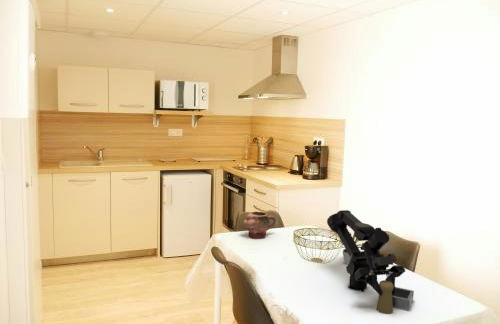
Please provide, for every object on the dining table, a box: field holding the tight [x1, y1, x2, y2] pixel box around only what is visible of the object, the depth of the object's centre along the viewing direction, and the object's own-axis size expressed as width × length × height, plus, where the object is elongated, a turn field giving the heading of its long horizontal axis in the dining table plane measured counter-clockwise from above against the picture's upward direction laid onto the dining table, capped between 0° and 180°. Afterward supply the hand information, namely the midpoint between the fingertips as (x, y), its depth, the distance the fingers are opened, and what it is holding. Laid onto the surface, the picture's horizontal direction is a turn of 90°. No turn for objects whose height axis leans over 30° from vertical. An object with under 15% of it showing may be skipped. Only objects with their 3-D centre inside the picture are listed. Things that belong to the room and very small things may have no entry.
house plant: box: [339, 232, 362, 266], centre depth 200 cm, size 14×14×16 cm
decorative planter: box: [243, 211, 277, 240], centre depth 240 cm, size 20×12×14 cm, turn 116°
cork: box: [375, 280, 394, 315], centre depth 153 cm, size 6×6×11 cm
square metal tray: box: [392, 286, 415, 312], centre depth 159 cm, size 10×10×4 cm
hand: (387, 294), depth 151 cm, fingers closed on cork, 5 cm apart
